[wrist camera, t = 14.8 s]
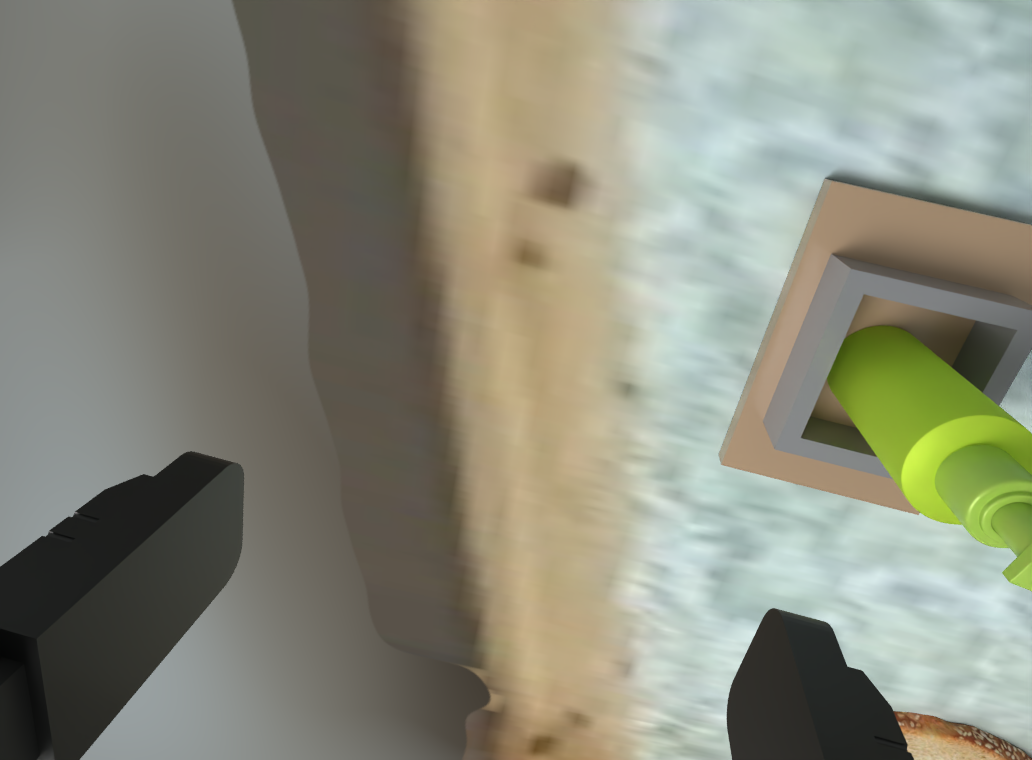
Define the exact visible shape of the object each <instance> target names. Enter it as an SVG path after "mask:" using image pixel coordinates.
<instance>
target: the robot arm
mask: <svg viewBox="0 0 1032 760" xmlns="http://www.w3.org/2000/svg"><path fill="white" fill-rule="evenodd" d="M243 495H244V472H243V469H242V467H241V465H239V464H238V463H234V462H231V461H226V460H223V459H219V458H215V457H212V456H208V455H204V454H201V453H197V452H192V451H190V452H186V453H184V454H183V455H181V456H180V457H179V458H177V459H176V460H175V461H173V462H172V463H171V464H169V466H167V467H166V468H164V469H163V470H162V471H161V472H159V473H158V474H157V475H155V476H154V477H152V476H148V475H145V474H143V475H140V476H138V477H136V478H133V479H130V480H128V481H126V482H123V483H120V484H118V485H115V486H113V487H110V488H108V489H105V490H104V491H102V492H101V493H100V494H98V495H97V496H96V497H94V498H93V499H92V500H90V501H89V502H88V503H86V504H85V505H83V506H82V507H81V508H79V509H78V510H77V511H75V513H74V516H73V517H67V518H66V519H64V520H63V521H62V522H60V523H59V524H58V525H56V526H55V527H54V528H52V529H51V530H50V531H49V533H48V535H47V536H46V537H45V536H41V537H40V538H39V539H37V540H36V541H35V542H33V543H32V544H31V545H29V546H28V547H27V548H25V549H24V550H22V551H21V552H20V553H18V554H17V555H16V556H14V557H13V558H12V559H10V560H9V561H8V562H6V563H5V564H3V565H2V566H1V567H0V760H80V758H81V757H82V756H83V755H84V754H85V752H86V751H87V750H88V749H89V748H90V746H91V745H92V744H93V743H94V742H95V741H96V739H97V738H98V737H99V736H100V734H101V733H102V732H103V731H104V730H105V729H106V727H107V726H108V725H109V724H110V723H111V721H112V720H113V719H114V718H115V717H116V715H117V714H118V713H119V712H120V711H121V709H122V708H123V707H124V706H125V705H126V703H127V702H128V701H129V700H130V699H131V698H132V696H133V695H134V694H135V693H136V691H137V690H138V689H139V688H140V687H141V686H142V684H143V683H144V682H145V681H146V679H147V678H148V677H149V676H150V675H151V674H152V672H153V671H154V670H155V669H156V667H157V666H158V665H159V664H160V663H161V661H163V659H164V658H165V657H166V656H167V655H168V653H169V652H170V651H171V650H172V649H173V647H174V646H175V645H176V643H178V641H179V640H180V639H181V638H182V637H183V635H184V634H185V633H186V632H187V631H188V629H189V628H190V627H191V626H192V625H193V623H194V622H195V621H196V620H197V619H198V618H199V616H200V615H201V614H202V613H203V611H204V610H205V609H206V608H207V607H208V606H209V604H210V603H211V602H212V601H213V600H214V598H215V597H216V596H217V595H218V594H219V592H220V591H221V590H222V589H223V588H224V586H225V585H226V584H227V582H228V581H229V579H230V578H231V576H232V574H233V572H234V570H235V568H236V566H237V563H238V560H239V557H240V553H241V549H242V536H243V534H242V533H243V497H244V496H243ZM727 729H728V735H729V742H730V748H731V755H732V760H914V758H913V756H912V753H910V752H908V751H907V746H908V744H907V742H906V739H905V737H904V735H903V733H902V730H901V728H900V726H899V723H898V721H897V719H896V716H895V714H894V712H893V709H892V707H891V706H890V705H889V703H888V702H887V701H886V700H885V698H884V697H883V696H882V695H881V693H880V692H879V691H878V690H877V688H876V687H875V686H874V685H873V683H872V682H871V681H870V680H869V678H868V677H867V676H866V675H865V674H864V672H863V671H861V670H858V669H854V668H850V667H847V665H846V662H845V659H844V657H843V654H842V652H841V649H840V647H839V644H838V641H837V639H836V636H835V634H834V631H833V629H832V628H831V626H830V625H829V624H828V623H826V622H824V621H820V620H816V619H812V618H809V617H805V616H801V615H797V614H794V613H790V612H786V611H782V610H779V609H775V608H773V609H770V610H769V611H768V612H767V613H766V614H765V616H764V617H763V619H762V621H761V623H760V625H759V628H758V630H757V632H756V634H755V636H754V638H753V640H752V642H751V644H750V646H749V648H748V651H747V653H746V655H745V657H744V659H743V661H742V663H741V665H740V667H739V669H738V672H737V674H736V676H735V678H734V680H733V683H732V685H731V689H730V693H729V698H728V705H727Z"/></svg>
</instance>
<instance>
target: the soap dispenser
mask: <svg viewBox="0 0 1032 760" xmlns="http://www.w3.org/2000/svg"><path fill="white" fill-rule="evenodd" d="M827 381H828V385H829V387H830V389H831V391H832V393H833V394H834V395H835V397H836V398H837V400H838V401H839V403H840V404H841V405H842V407H843V408H844V410H845V411H846V413H847V414H848V415H849V417H850V418H851V420H852V421H853V423H854V424H855V426H856V427H857V428H858V430H859V431H860V433H861V434H862V436H863V437H864V438H865V440H866V441H867V443H868V444H869V446H870V447H871V448H872V450H873V451H874V453H875V454H876V456H877V457H878V458H879V460H880V461H881V463H882V464H883V466H884V467H885V468H886V470H887V471H888V473H889V474H890V476H891V477H892V478H893V480H894V481H895V483H896V484H897V486H898V487H899V488H900V490H901V491H902V493H903V494H904V496H905V497H906V498H907V500H908V501H909V503H910V504H911V505H912V506H913V507H914V508H915V509H916V510H917V511H919V512H920V513H921V514H923V515H925V516H927V517H928V518H931V519H933V520H936V521H939V522H943V523H948V524H958V525H963V526H964V527H965V529H966V530H967V531H968V532H969V533H970V535H971V536H972V537H974V538H975V539H976V540H977V541H979V542H981V543H983V544H985V545H988V546H991V547H997V548H1010V549H1011V550H1012V551H1013V552H1014V554H1015V555H1016V556H1017V558H1016V559H1015V560H1014V561H1013V562H1012V563H1011V564H1010V565H1009V566H1008V567H1007V568H1006V569H1005V570H1004V571H1003V572H1002V573H1003V575H1004V576H1005V577H1006V578H1007V580H1008V581H1009V582H1010V583H1013V584H1015V585H1018V586H1020V587H1023V588H1025V589H1028V590H1030V591H1032V434H1031V433H1030V432H1029V431H1028V430H1027V429H1026V428H1025V427H1024V426H1023V425H1021V424H1020V423H1019V422H1018V421H1016V420H1015V419H1014V418H1013V417H1012V416H1010V415H1009V414H1008V413H1007V412H1005V411H1004V410H1003V409H1002V408H1001V407H999V406H998V405H997V404H996V403H994V402H993V401H992V400H991V399H990V398H988V397H987V396H986V395H985V394H983V393H982V392H981V391H980V390H979V389H977V388H976V387H975V386H974V385H973V384H971V383H970V382H969V381H968V380H966V379H965V378H964V377H963V376H962V375H960V374H959V373H958V372H957V371H955V370H954V369H953V368H952V367H951V366H949V365H948V364H947V363H946V362H944V361H943V360H942V359H941V358H940V357H938V356H937V355H936V354H935V353H933V352H932V351H931V350H930V349H929V348H927V347H926V346H925V345H924V344H923V343H921V342H920V341H919V340H918V339H916V338H915V337H914V336H913V335H911V334H910V333H908V332H907V331H905V330H903V329H900V328H897V327H893V326H872V327H868V328H864V329H861V330H859V331H857V332H855V333H853V334H851V335H849V336H848V337H847V338H845V339H844V340H843V343H842V345H841V347H840V349H839V352H838V354H837V356H836V359H835V361H834V363H833V365H832V368H831V370H830V372H829V374H828V377H827Z"/></svg>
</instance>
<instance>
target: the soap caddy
mask: <svg viewBox="0 0 1032 760" xmlns="http://www.w3.org/2000/svg"><path fill="white" fill-rule="evenodd" d="M872 326H893V327H897V328H900V329H903V330H905V331H907V332H908V333H910V334H911V335H913V336H914V337H915V338H916V339H918V340H919V341H920V342H921V343H923V344H924V345H925V346H926V347H927V348H929V349H930V350H931V351H932V352H933V353H935V354H936V355H937V356H938V357H940V358H941V359H942V360H943V361H944V362H946V363H947V364H948V365H949V366H951V367H952V368H953V369H954V370H955V371H957V372H958V373H959V374H960V375H962V376H963V377H964V378H965V379H966V380H968V381H969V382H970V383H971V384H973V385H974V386H975V387H976V388H977V389H979V390H980V391H981V392H982V393H983V394H985V395H986V396H987V397H988V398H990V399H991V400H992V401H993V402H994V403H996V404H997V405H998V406H999V405H1000V403H1001V401H1002V400H1003V398H1004V396H1005V394H1006V393H1007V391H1008V389H1009V387H1010V386H1011V384H1012V382H1013V380H1014V379H1015V377H1016V375H1017V373H1018V372H1019V370H1020V368H1021V367H1022V365H1023V363H1024V361H1025V360H1026V358H1027V356H1028V354H1029V353H1030V351H1031V349H1032V224H1028V223H1023V222H1019V221H1014V220H1010V219H1005V218H1001V217H996V216H992V215H987V214H983V213H978V212H974V211H969V210H965V209H960V208H956V207H951V206H947V205H942V204H938V203H933V202H929V201H924V200H920V199H915V198H911V197H906V196H902V195H897V194H893V193H888V192H884V191H879V190H875V189H870V188H866V187H861V186H857V185H852V184H848V183H843V182H839V181H834V180H830V179H824V182H823V185H822V187H821V190H820V192H819V195H818V198H817V200H816V203H815V205H814V208H813V211H812V213H811V216H810V218H809V221H808V224H807V226H806V229H805V231H804V234H803V237H802V239H801V242H800V244H799V247H798V250H797V252H796V255H795V257H794V260H793V263H792V265H791V268H790V270H789V273H788V276H787V278H786V281H785V283H784V286H783V289H782V291H781V294H780V296H779V299H778V302H777V304H776V307H775V309H774V312H773V315H772V317H771V320H770V322H769V325H768V328H767V330H766V333H765V335H764V338H763V341H762V343H761V346H760V348H759V351H758V354H757V356H756V359H755V361H754V364H753V367H752V369H751V372H750V374H749V377H748V380H747V382H746V385H745V387H744V390H743V393H742V395H741V398H740V400H739V403H738V406H737V408H736V411H735V413H734V416H733V419H732V421H731V424H730V426H729V429H728V432H727V434H726V437H725V439H724V442H723V445H722V447H721V450H720V452H719V458H720V462H721V465H724V466H728V467H732V468H736V469H740V470H744V471H748V472H752V473H755V474H759V475H763V476H767V477H771V478H775V479H779V480H783V481H787V482H791V483H795V484H799V485H803V486H807V487H811V488H815V489H818V490H822V491H826V492H830V493H834V494H838V495H842V496H846V497H850V498H854V499H858V500H862V501H866V502H870V503H874V504H878V505H881V506H885V507H889V508H893V509H897V510H901V511H905V512H909V513H913V514H917V515H919V513H920V512H919V511H917V510H916V509H915V508H914V507H913V506H912V505H911V504H910V503H909V501H908V500H907V498H906V497H905V496H904V494H903V493H902V491H901V490H900V488H899V487H898V486H897V484H896V483H895V481H894V480H893V478H892V477H891V476H890V474H889V473H888V471H887V470H886V468H885V467H884V466H883V464H882V463H881V461H880V460H879V458H878V457H877V456H876V454H875V453H874V451H873V450H872V448H871V447H870V446H869V444H868V443H867V441H866V440H865V438H864V437H863V436H862V434H861V433H860V431H859V430H858V428H857V427H856V426H855V424H854V423H853V421H852V420H851V418H850V417H849V415H848V414H847V413H846V411H845V410H844V408H843V407H842V405H841V404H840V403H839V401H838V400H837V398H836V397H835V395H834V394H833V393H832V391H831V389H830V387H829V385H828V381H827V377H828V374H829V372H830V370H831V368H832V365H833V363H834V361H835V359H836V356H837V354H838V352H839V349H840V347H841V345H842V343H843V340H844V339H845V338H847V337H848V336H849V335H851V334H853V333H855V332H857V331H859V330H861V329H864V328H868V327H872Z"/></svg>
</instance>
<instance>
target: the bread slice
mask: <svg viewBox="0 0 1032 760" xmlns="http://www.w3.org/2000/svg"><path fill="white" fill-rule="evenodd" d="M893 712H894V714H895V716H896V719H897V721H898V723H899V726H900V728H901V730H902V733H903V735H904V737H905V739H906V742H907V744H908V746H907V751H908V752H910V753H912V756H913V758H914V760H1032V758H1031V757H1029V756H1028V755H1027V754H1026V753H1025V752H1024V751H1022V750H1021V749H1019V748H1017V747H1014V746H1013V745H1011V744H1010V743H1008V742H1007V741H1005V740H1002V739H1000V738H998V737H995V736H993V735H992V734H990V733H987V732H985V731H982V730H980V729H978V728H976V727H974V726H970V725H965V724H958V723H952V722H947V721H945V720H942V719H940V718H938V717H934V716H929V715H922V714H917V713H909V712H896V711H893Z"/></svg>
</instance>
